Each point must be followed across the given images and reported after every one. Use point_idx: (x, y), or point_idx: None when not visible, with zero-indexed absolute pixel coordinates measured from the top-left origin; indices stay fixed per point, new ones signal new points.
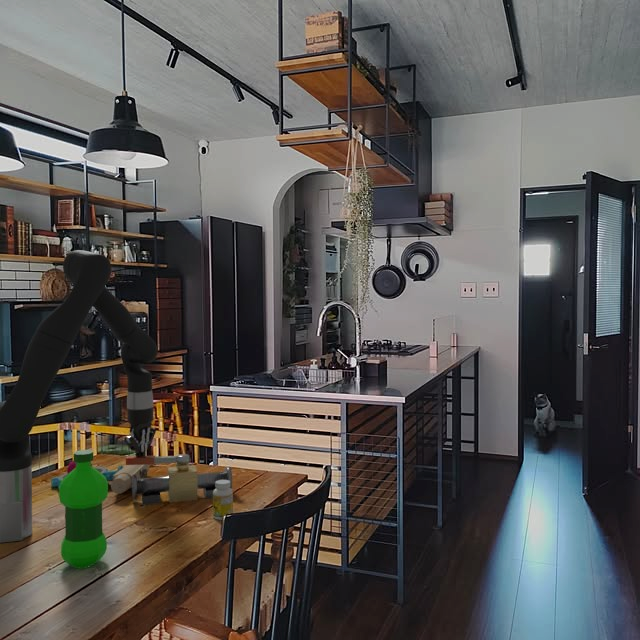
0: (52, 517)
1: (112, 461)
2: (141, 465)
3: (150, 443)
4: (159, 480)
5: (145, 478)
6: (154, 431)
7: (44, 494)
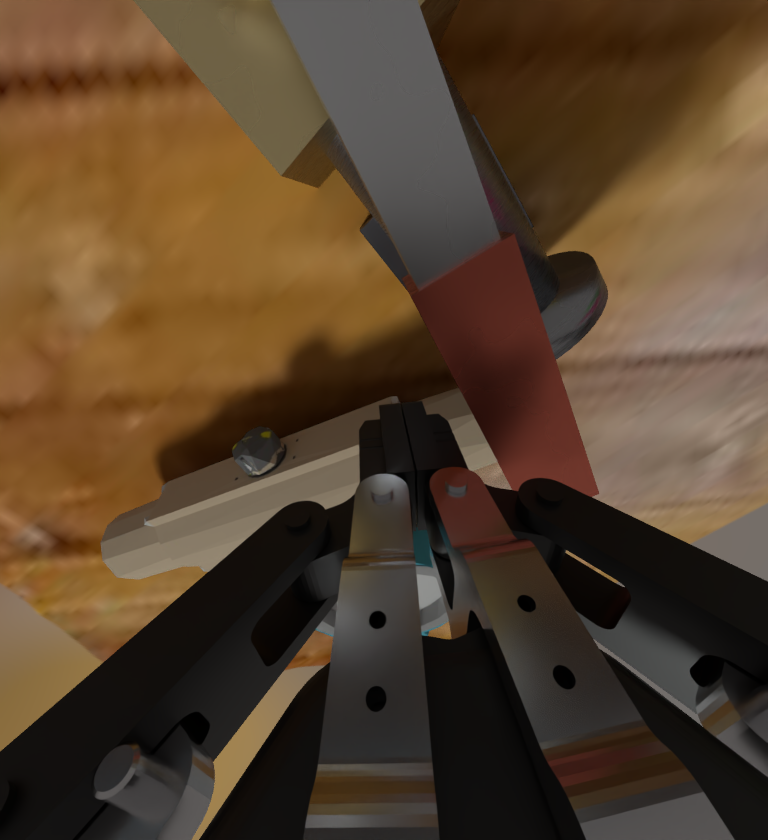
0: (698, 452)
1: None
2: (219, 506)
3: (270, 537)
4: (467, 135)
5: None
6: (32, 779)
7: None
